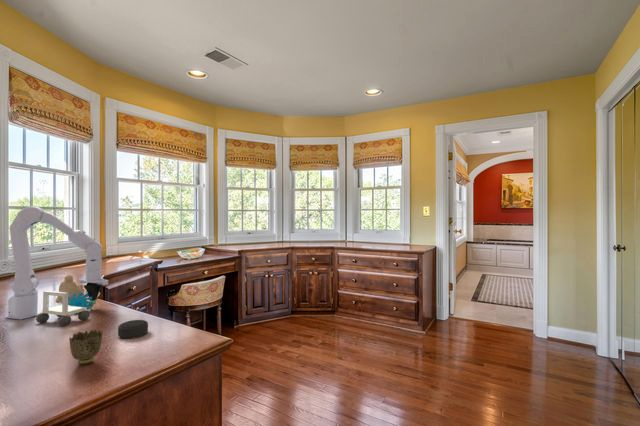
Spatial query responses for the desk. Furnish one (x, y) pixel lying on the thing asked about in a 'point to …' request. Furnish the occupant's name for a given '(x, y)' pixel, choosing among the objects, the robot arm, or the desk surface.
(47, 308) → the cart
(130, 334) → the smart speaker
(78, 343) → the cup
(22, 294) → the robot arm
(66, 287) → the statue
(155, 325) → the desk surface
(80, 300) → the blue green toy
